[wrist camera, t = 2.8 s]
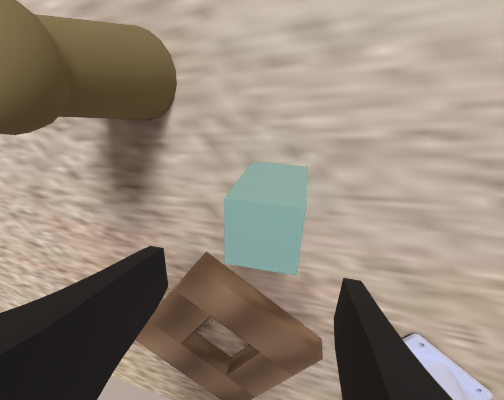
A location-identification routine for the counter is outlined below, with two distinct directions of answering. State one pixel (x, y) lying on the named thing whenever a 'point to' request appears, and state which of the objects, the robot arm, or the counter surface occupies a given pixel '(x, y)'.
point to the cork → (78, 70)
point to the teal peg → (266, 218)
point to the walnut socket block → (239, 322)
